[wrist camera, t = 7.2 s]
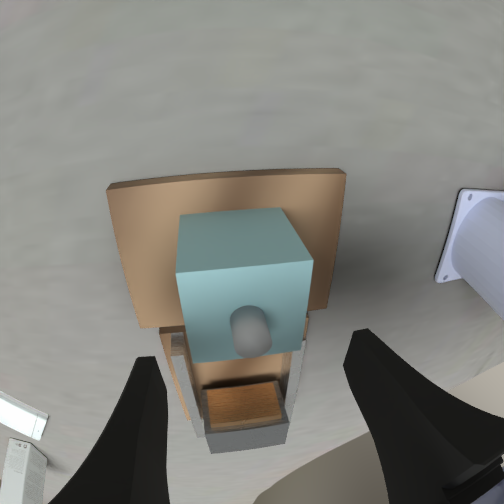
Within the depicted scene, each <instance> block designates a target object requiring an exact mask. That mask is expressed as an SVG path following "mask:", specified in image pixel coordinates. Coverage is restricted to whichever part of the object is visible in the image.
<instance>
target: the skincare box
mask: <svg viewBox="0 0 504 504" xmlns="http://www.w3.org/2000/svg"><path fill="white" fill-rule="evenodd" d="M46 466H47V458H46V457H45V456H44V455H43V454H42V453H40V452H39V451H38V450H37V449H36V448H35V447H34V446H33V445H32V444H31V443H28V442H24V441H20V440H16V439H13V438H10V440H9V444H8V449H7V454H6V459H5V464H4V470H3V476H2V483H1V490H0V504H42V500H43V490H44V481H45V473H46Z"/></svg>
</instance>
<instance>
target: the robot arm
mask: <svg viewBox="0 0 504 504" xmlns="http://www.w3.org/2000/svg"><path fill="white" fill-rule="evenodd" d="M460 278H463V279H464V280H465V281H466V282H467V283H468V284H469V285H470V286H471V287H472V288H473V289H474V290H475V291H476V292H477V293H478V294H479V295H480V296H481V297H482V298H483V299H484V300H485V301H486V302H487V303H488V304H489V305H490V306H491V308H492V309H493V310H494V311H495V312H496V313H497V314H498V315H499V316H500V317H501V318H502V320H503V321H504V191H493V190H478V189H462V190H461V191H460V193H459V196H458V201H457V205H456V209H455V213H454V217H453V220H452V224H451V228H450V231H449V235H448V238H447V242H446V245H445V248H444V251H443V254H442V258H441V261H440V264H439V267H438V270H437V272H436V275H435V281H436V282H437V283H442V282H447V281H451V280H456V279H460ZM343 367H344V370H345V374H346V377H347V380H348V383H349V386H350V389H351V391H352V393H353V395H354V398H355V400H356V402H357V404H358V406H359V408H360V410H361V413H362V415H363V417H364V419H365V421H366V423H367V425H368V428H369V430H370V432H371V434H372V437H373V439H374V442H375V445H376V449H377V452H378V455H379V459H380V462H381V466H382V470H383V473H384V478H385V482H386V487H387V492H388V498H389V504H504V467H501V465H500V464H502V463H503V459H502V457H501V456H502V455H503V454H504V418H501V417H498V416H495V415H492V414H490V413H487V412H485V411H482V410H480V409H478V408H475V407H473V406H471V405H469V404H467V403H465V402H463V401H461V400H459V399H458V398H456V397H454V396H452V395H451V394H449V393H447V392H446V391H444V390H443V389H441V388H440V387H438V386H437V385H435V384H434V383H432V382H431V381H430V380H428V379H427V378H426V377H424V376H423V375H422V374H420V373H419V372H418V371H416V370H415V369H414V368H413V367H411V366H410V365H409V364H408V363H407V362H405V361H404V360H403V359H402V358H401V357H400V356H398V355H397V354H396V353H395V352H394V351H393V350H392V349H390V348H389V347H388V346H387V345H386V344H385V343H384V342H383V341H381V340H380V339H379V338H378V337H377V336H376V335H375V334H374V333H372V332H371V331H370V330H369V329H368V328H367V329H362V330H357V331H354V332H353V335H352V338H351V341H350V345H349V348H348V351H347V354H346V357H345V360H344V363H343ZM167 429H168V403H167V389H166V386H165V383H164V381H163V378H162V375H161V372H160V370H159V367H158V364H157V361H156V358H155V356H149V357H138V358H137V359H136V361H135V363H134V366H133V369H132V371H131V374H130V376H129V378H128V381H127V383H126V385H125V388H124V390H123V392H122V394H121V396H120V399H119V401H118V403H117V405H116V407H115V409H114V411H113V413H112V415H111V417H110V419H109V421H108V423H107V425H106V426H105V428H104V430H103V432H102V434H101V435H100V437H99V439H98V441H97V442H96V444H95V445H94V447H93V449H92V450H91V452H90V453H89V455H88V456H87V458H86V459H85V460H84V462H83V463H82V465H81V466H80V468H79V469H78V470H77V472H76V473H75V474H74V475H73V477H72V478H71V479H70V480H69V481H68V483H67V484H66V485H65V486H64V487H63V489H62V490H61V491H60V492H59V493H58V494H57V495H56V496H55V497H54V498H53V499H52V500H51V501H50V502H49V503H48V504H170V500H169V493H168V484H167V471H166V458H167Z"/></svg>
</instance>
